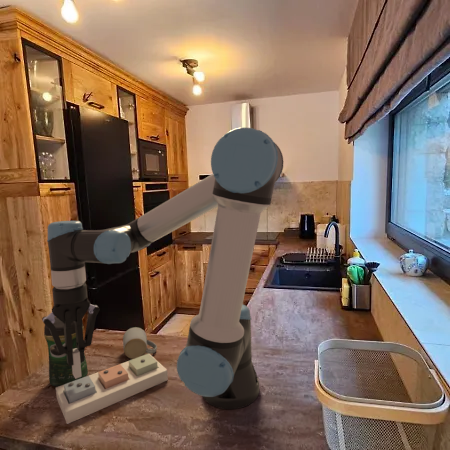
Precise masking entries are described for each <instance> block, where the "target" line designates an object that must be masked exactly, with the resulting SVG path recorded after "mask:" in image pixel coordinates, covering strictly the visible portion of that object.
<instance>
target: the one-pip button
mask: <svg viewBox="0 0 450 450" xmlns="http://www.w3.org/2000/svg"><path fill="white" fill-rule="evenodd" d="M149 354H150V353H145V354H144V355H143V356H140V357H138V358H135V359H130V360H128V361H129V368H130V369H131V371H132V372H133V373H134V374H135V375H136V376H139V375H142V374H144V373H147V372H149V371H152V370H154V369H157V368H158V366H157V361H158V360H157V359H156V358H155V357H154V356H152V355H151V354H150V355H151V356H152V357H151V356H150V355H149ZM153 357H154V358H155V359H156V360H157V361H156V360H155V359H154V358H153Z"/></svg>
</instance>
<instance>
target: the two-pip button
mask: <svg viewBox="0 0 450 450" xmlns="http://www.w3.org/2000/svg"><path fill="white" fill-rule="evenodd" d="M121 364H122V363H119V364H116V365H114V366H111V367H108V368H106V369H103V370H100V371H98V376H99V381H100V383H101V384H102V386H103V387H104V389H107V388H110V387H112V386H114V385H117V384H119V383H122V382H124V381H127V380H128V373H127V371H126V370H125V369H124V368H123V367H122V366H121Z"/></svg>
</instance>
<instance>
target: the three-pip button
mask: <svg viewBox="0 0 450 450" xmlns="http://www.w3.org/2000/svg"><path fill="white" fill-rule="evenodd" d="M64 391H65V397H66V399H67V401H68V403H69V404H70V403H72V402H75V401H77V400H80V399H82V398H85V397H87V396H90V395H92V394H95V393H96V391H95V385H94V384H93V382H92V380H91V379H90V377H89V375H87V376H86V377H83V378H80V379H78V380H75V381H72V382H70V383H67V384H64Z"/></svg>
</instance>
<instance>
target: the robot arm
mask: <svg viewBox="0 0 450 450" xmlns="http://www.w3.org/2000/svg"><path fill="white" fill-rule="evenodd" d="M210 168H211V171H212V174H210V175H208V176H207V177H205V178H203V179H202V180H200V181H198V182H196V183H195V184H193V185H191V186H190V187H187V188H186V189H185V190H183V191H181V192H180V193H178V194H177V195H174V196H173V197H171V198H169V199H168V200H166V201H164V202H162V203H161V204H159V205H158V206H155V207H154V208H153V209H151V210H149V211H147V212H146V213H144V214H142V215H141V216H139V217H137V218H136V219H134V220H132V221H130V222H129V223H127V224H123V225H119V226H114V227H111V228H110V227H109V228H106V229H97V230H96V229H95V230H94V229H91V230H90V229H87V230H86V229H84V227H83V223H82V222H81V221H80V220H61V221H54V222H51V223H49V224H48V225H47V239H46V242H47V247H48V255H49V257H48V258H49V266H50V277H51V278H50V280H51V285H52V286H53V288H52V289H51V291H52V301H53V305H52V308H51V312H50V313H49V314H48V315H46V316H43V317H42V318H41V319H42V322H43V325H44V326H45V325H46V326H47V327H48V328H49V330H50V332H51V335H52V337H53V340H54V342H55V344H56V347H57V349H58V351H59V353H60V354H66V356H67V363H68V365H69V366H72V372H73V375H74V377H75V379H76V378H79V377H82V375H81V362H84V360H85V358H86V356H85V357H84V354H85V351H86V348H87V347H90V346H91V345H92V342H93V337H94V332H95V326H96V325H95V324H96V320H97V315H98V314H99V312H100V310H101V309H100V307H99V306H98V305H97V304H91V302H90V300H89V298H88V285H87V283H86V281H87V273H86V263H93V264H94V263H97V264H107V265H112V264H122V263H125V261H126V260H127V258H129V256H130V254H131V253H132V254H133V253H135V252H138V251H141V250H144V249H145V248H147V247H149V246H151V244H153V243H154V242H155V241H157V240H160V239H161V238H163V237H165V236H167V235H168V234H171V233H172V232H174V231H176V230H178V229H179V228H181V227H183V226H185V225H187V224H189V223H190V222H192V221H194V220H196V219H198V218H200V217H201V216H203V215H205V214H207V213H209V212H210V211H212V210H214V209H216V208H217V210H216V217H215V221H214V227H213V233H212V238H211V245H210V251H209V255H208V262H207V265H206V266H207V267H206V273H205V278H204V284H203V290H202V296H201V302H200V307H199V313H198V314H196V315H195V316H193V317H192V318H191V320H190V323H189V329H188V333H187V334H188V335H187V340H186V345H185V347H184V348H183V349H182V350H181V351H180V353H179V355H178V357H177V360H176V372H177V375H178V377H179V379H180V381H181V382H183V383H184V386H185V387H186V388H187V389H188V390H190V392H193V393H194V394H196V395H198V396H201V397H202V398H203V399H204V401H205V402H206V403H208V404H209V405H211V406H212V407H215V408H219V409H221V410H222V409H223V410H224V409H225V410H235V409H241V408H244V407H246V406H249V405H250V404H252V403H254V402H255V400H257V398H258V396H259V394H260V379H259V377H258V375H257V371H256V370H255V366H254V364H253V359H252V355H253V354H252V325H251V324H252V323H251V322H252V321H251V320H252V317H251V310H250V308H249V307H248V306H247V305H245V304H244V298H245V295H246V294H245V293H246V290H247V289H246V288H247V284H248V279H249V274H250V268H251V264H252V258H253V255H254V247H255V243H256V238H257V234H258V228H259V223H260V218H261V214H262V213H263V211H265V210H267V209H268V208H270V206H271V203H272V198H273V193H274V189H275V183H277V181H278V180H279V179H280V177H281V175H282V173H283V169H284V157H283V153H282V151H281V149H280V147H279V146H278V144H277V143H276V142H274V140H273V139H272V138H271V137H270V135H268V134H267V133H266V132H263V131H262V130H261V129H256V128H253V127H237V128H234V129H231V130H230V131H228V132H226V133H225V134H224V135H222V136H221V137H220V138H219V139H218V140H217V142H216V143H215V144H214V147H213V150H212V153H211V156H210ZM86 313H88V314H87V315H88V316H87V319H86V320H87V321H86V327H85V331H84V326H83V327H82V324H83V323H84V322H83V319H84V316H85V315H86ZM54 317H57V318H58V319H59V320H60V321H61V322H63V325H64V337H65V346H63V345H62V343H61V340H60V338H59V335H58V333H57V330H56V328H55V326H54V324H53V323H54V322H55V319H54ZM71 322H75V332H76V343H77V348H75V349H73V345H72V332H71ZM83 325H84V324H83ZM84 333H85V334H84Z"/></svg>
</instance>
